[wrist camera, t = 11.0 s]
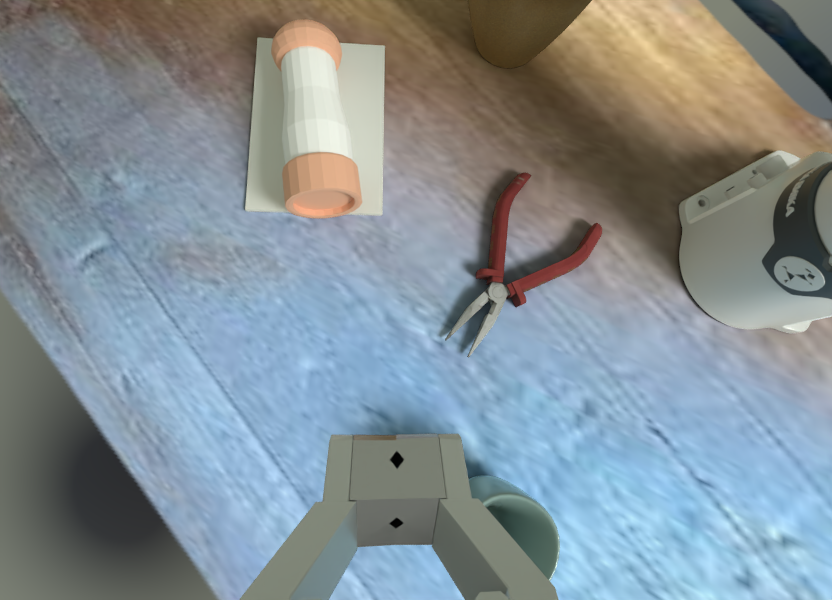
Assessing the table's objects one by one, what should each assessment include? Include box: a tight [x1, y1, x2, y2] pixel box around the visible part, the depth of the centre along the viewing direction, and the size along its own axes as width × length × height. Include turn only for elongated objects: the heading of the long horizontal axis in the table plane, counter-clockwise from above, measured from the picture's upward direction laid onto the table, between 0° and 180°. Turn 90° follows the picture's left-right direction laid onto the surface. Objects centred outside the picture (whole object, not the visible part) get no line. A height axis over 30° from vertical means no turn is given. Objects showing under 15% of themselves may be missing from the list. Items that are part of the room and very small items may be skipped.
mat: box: [245, 38, 385, 216], centre depth 49 cm, size 20×14×1 cm
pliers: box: [445, 173, 602, 357], centre depth 47 cm, size 12×20×3 cm, turn 144°
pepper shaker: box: [271, 19, 362, 218], centre depth 45 cm, size 7×7×19 cm
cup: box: [469, 475, 560, 581], centre depth 38 cm, size 8×8×10 cm
